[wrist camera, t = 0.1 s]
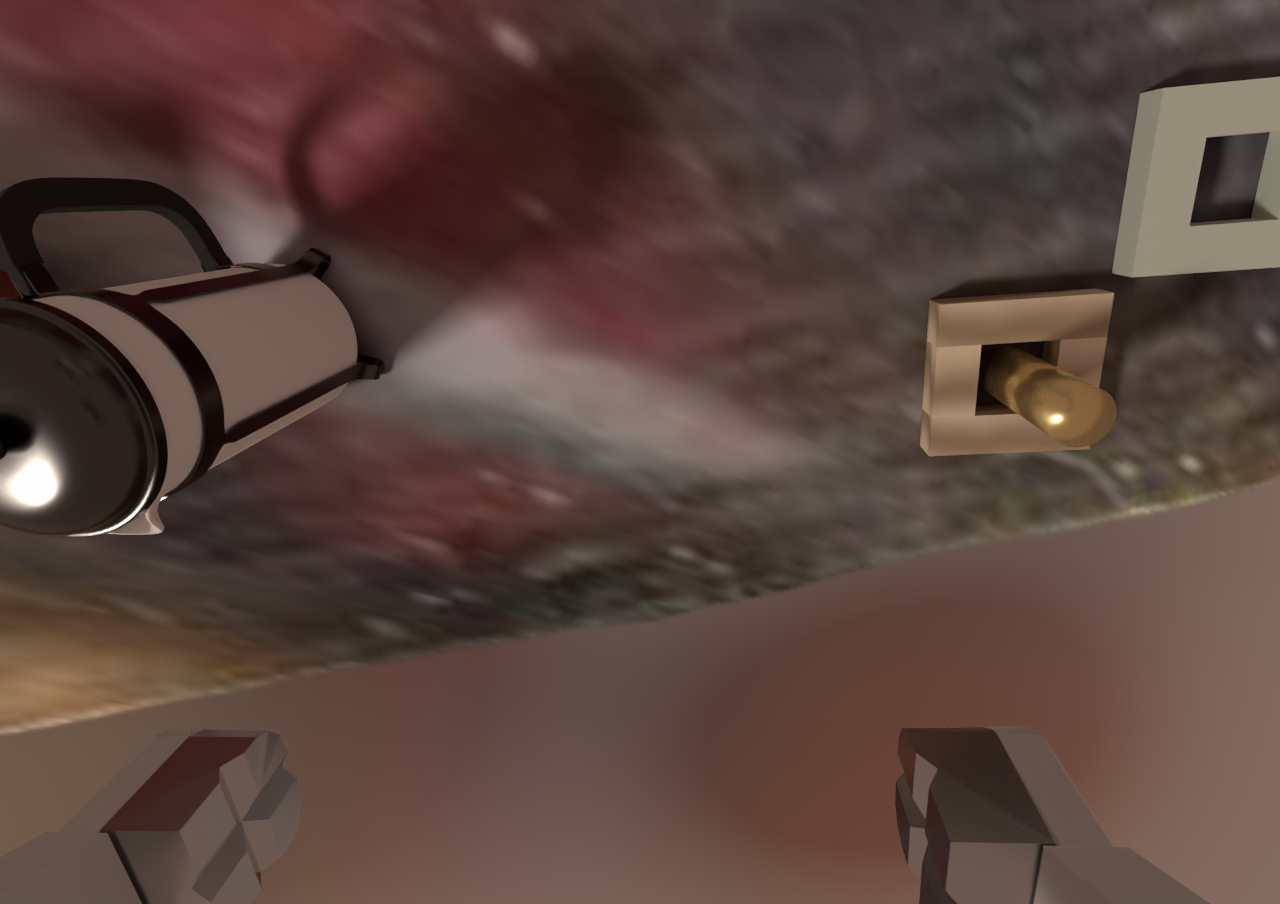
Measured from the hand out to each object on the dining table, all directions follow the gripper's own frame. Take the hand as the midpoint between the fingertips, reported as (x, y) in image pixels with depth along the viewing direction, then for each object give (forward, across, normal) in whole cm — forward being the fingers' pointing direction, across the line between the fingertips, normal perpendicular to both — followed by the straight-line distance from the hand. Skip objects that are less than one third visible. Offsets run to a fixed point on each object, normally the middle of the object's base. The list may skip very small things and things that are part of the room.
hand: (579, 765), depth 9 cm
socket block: (+48, -38, -5) cm, 61 cm away
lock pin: (+48, -25, +8) cm, 55 cm away
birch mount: (+48, -25, +8) cm, 55 cm away
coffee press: (+48, +33, 0) cm, 58 cm away
